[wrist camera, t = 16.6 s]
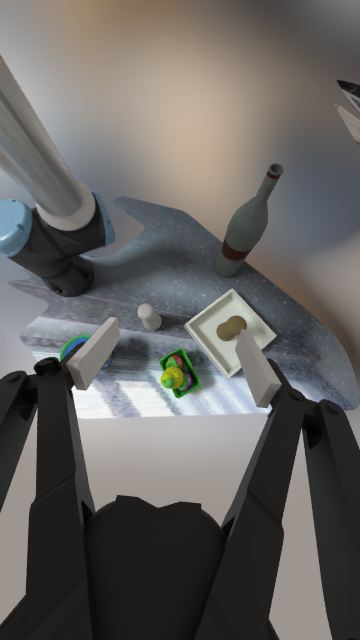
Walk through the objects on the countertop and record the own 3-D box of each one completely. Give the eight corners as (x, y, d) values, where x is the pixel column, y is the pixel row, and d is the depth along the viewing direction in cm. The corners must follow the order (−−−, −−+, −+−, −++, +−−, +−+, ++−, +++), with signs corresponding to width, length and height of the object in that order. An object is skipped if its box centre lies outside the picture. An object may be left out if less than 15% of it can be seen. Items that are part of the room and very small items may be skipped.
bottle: (234, 282, 55) (298, 193, 26) (210, 274, 55) (245, 179, 27) (240, 261, 57) (306, 158, 28) (217, 253, 58) (257, 145, 29)
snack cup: (112, 328, 50) (96, 319, 40) (131, 353, 48) (119, 351, 38) (69, 360, 47) (41, 360, 37) (88, 389, 45) (63, 396, 35)
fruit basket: (199, 382, 46) (206, 389, 35) (173, 397, 45) (171, 409, 34) (181, 348, 48) (183, 344, 38) (156, 361, 47) (150, 361, 36)
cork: (237, 339, 49) (254, 332, 38) (219, 343, 48) (231, 338, 38) (231, 321, 50) (246, 310, 40) (213, 325, 50) (223, 315, 39)
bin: (184, 327, 50) (184, 324, 46) (228, 293, 54) (232, 288, 50) (224, 377, 46) (228, 378, 42) (269, 337, 50) (276, 335, 46)
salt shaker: (155, 311, 51) (148, 295, 39) (165, 324, 50) (162, 311, 38) (141, 321, 50) (129, 308, 38) (151, 335, 49) (142, 326, 37)
